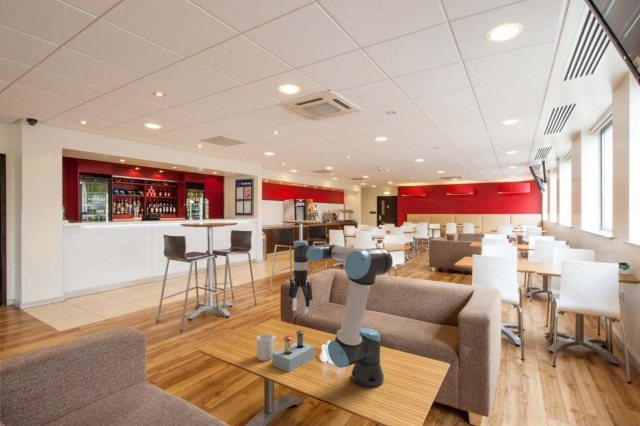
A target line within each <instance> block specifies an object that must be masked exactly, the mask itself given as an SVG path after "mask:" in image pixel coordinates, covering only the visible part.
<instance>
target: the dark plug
mask: <svg viewBox="0 0 640 426" xmlns="http://www.w3.org/2000/svg"><path fill="white" fill-rule="evenodd" d="M304 334H305V331H303V330H297V331H296V335H297V337H296V342H297V348H299V349H301V348H303V343H304Z"/></svg>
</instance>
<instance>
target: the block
mask: <svg viewBox="0 0 640 426" xmlns="http://www.w3.org/2000/svg"><path fill="white" fill-rule="evenodd" d="M314 358H315V346H314V345H312V344H307V343H305V342H303V348H301V349H299V348H297V341H295V342H293V343H291V354H290V355H286V354H285V347H282V348H280V349H278V350H277V351H273V355H272V358H271V359H272V360H271V361H272V362H271V363H272V366H275V367H277V368H279V369H282V370H284V371H287V372H292V371H294V370H295V369H297V368H299V367H301V366H302V365H304V364H305V363H308V362H309V361H312V360H313V359H314Z"/></svg>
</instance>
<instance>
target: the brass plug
mask: <svg viewBox="0 0 640 426" xmlns="http://www.w3.org/2000/svg"><path fill="white" fill-rule="evenodd" d="M283 341H284V348H285V354H286V355H290V354H291V344H292V336H290V335H285V336H283Z"/></svg>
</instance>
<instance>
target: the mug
mask: <svg viewBox="0 0 640 426" xmlns="http://www.w3.org/2000/svg"><path fill="white" fill-rule="evenodd" d="M277 338H278V337H277V336H273V335H272V334H269V333H268V334H267V333H265V334H261V335H258V336H256V358H257V359H258V360H259V361H263V362H266V361H269V360H271V359H272V355H273V353H274V350H275V349H276V347H277Z"/></svg>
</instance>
